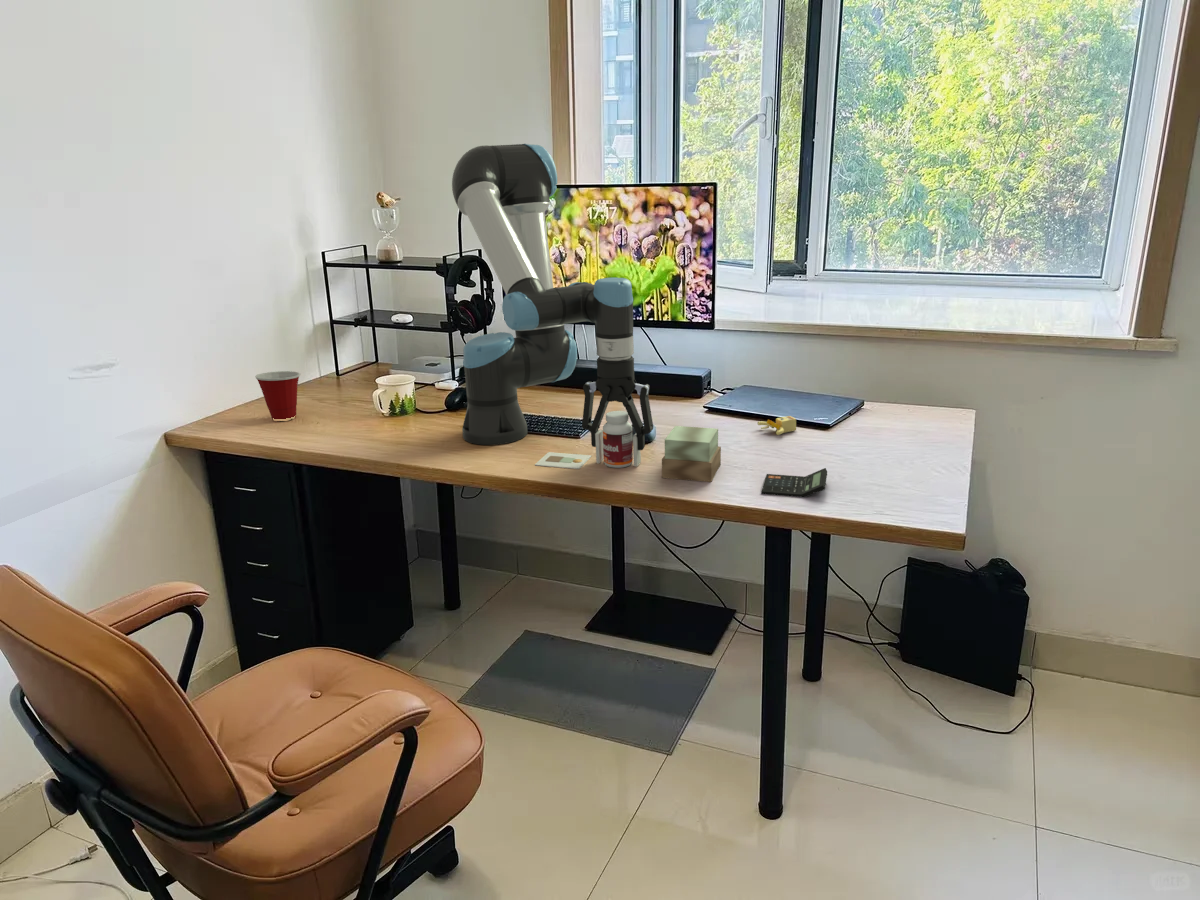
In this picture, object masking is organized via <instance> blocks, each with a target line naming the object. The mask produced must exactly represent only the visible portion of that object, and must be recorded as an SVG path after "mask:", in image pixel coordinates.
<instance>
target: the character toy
mask: <svg viewBox="0 0 1200 900" xmlns="http://www.w3.org/2000/svg"><path fill="white" fill-rule="evenodd" d="M757 425H758V426H761V427H760V430H766V429H770V428H771V429H776V432H775V434H776V435H777V436H779V435H781V434H782V435H783V434H784V433H788V432H789V433H790V432H794V431H797V418H795V417H793V416H791V415H788V416H787V415H786V416H782V417H777V418H775V422H774V421H772V420H770V419H767V421H762V420H761V421H757Z"/></svg>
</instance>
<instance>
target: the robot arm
mask: <svg viewBox="0 0 1200 900" xmlns="http://www.w3.org/2000/svg"><path fill="white" fill-rule="evenodd" d="M452 173H453V174H452V178H451V189H452V191H451V192H452V196H453V198H454V201H455V203H456V206H457V208H458V210H459V212H460V213H462V214H463V215H465V216H467V218H468V219H469V222H470V224H471V226H472V228H473V230H474V232H475V234H476V236H477V238H478V240H479V242H480V244H481V245H482V248H483V250H484V252H485V255H486V256H487V259H488V260H489V262H490V264H491V266H492V268H493V270H494V272H495V274H496V276H497V278H498V280H499V282H500V285H501V286H502V287H501V288H502V289H503V291H504V293H505V295H504V297H503V299H502V304H501V309H502V311H501V312H502V314H503V319H504V323H505V324H506V326H507V327H508V328H509V329H511V330H512V331H515V337H514V336H513V335H512V334H511V333H510V332H505V331H503V332H501V331H500V332H495V333H494V332H492V333H487V334H482V335H479V336H476V337H474V338H471V339H470V340H468V341H467V342H465V344H464V345H463V348H462V349H463V350H462V351H463V361H462V365H463V370H464V378H465V379H464V380H465V389H466V390H465V391H466V401H467V407H466V412H465V416H464V419H463V425H462V438H463V440H465V442H468V443H470V444H474V445H482V446H489V445H490V446H493V445H495V446H496V445H504V444H509V443H514V442H517V441H519V440H521V439H523V438H525V437H526V436H527V435H528V424H527V420H526V419H525V415H524V414H523V411H522V409H521V406H520V403H519V400H518V399H519V397H518V389H519V388H526V387H530V386H531V387H532V386H536V385H541V384H547V383H551V384H552V383H555V382H557V381H563V380H566V379H567V378H569V377H570V376H572V373H573V372H574V370H575V369H576V365H577V359H578V347H577V343H576V340H575V338H574V335H573V333H572V332H570V331H569V330H567V329H565V325H567V324H575V323H582V322H590V323H593V324H595V341H596V342H595V343H596V344H595V346H596V356H598V357H597V359H596V367H597V368H596V369H597V370H596V374H597V378H596V381H593V382H592V381H587V382H585V384H583V386H582V390H583V394H584V402H583V411H582V421H581V428H582V429H583V430H587V431H589V432H590V440H591V441H590V442H591V447H593V448H595V457H596V459H595V460H596V464H600V463H602V461H604V456H603V429H600V428H601V424H602V421H603V419H604V417H605V414H606V411H607V408H608V405H609V403H610V402H611V403H612V402H617V403H622V405H623V407H624V408H625V410H626V412H627V413H628V416H629V420H630V423H631V425H632V428H633V429H634V432H635V434H633V435H632V444H633V467H638V466H639V465H640V463H641V461H642V456H641V451H643V450H644V449H645V446H646V442H645V441H646V440H645V435H648V434H651V432H652V431H653V430H654V422H653V418H652V417H653V416H652V411H651V404H650V397H649V393H650V384H648V383H645V384H640V383H637V381H636V379H635V358H634V357H633V356H632V355H634V353H635V352H634V351H635V350H634V297H633V289H632V287H633V286H632V281H631V280H630V279H628V278H625V277H605V278H599V279H597V280H596V281H594V284H592V283H590V282H587V281H583V282H582V281H581V282H580V281H576V282H572V283H570V284H569V285H567V286H560V287H554V282H553V274H552V265H551V258H550V250H549V241H548V232H547V223H546V217H545V216H546V215H545V212H546V210H547V209H548V207H549V206H550V205H551V201H550V198H551V197H552V196H553V195H554V194H555V193H556V192H557V189H558V188H557V185H558V172H557V167H556V164H555V160H554V158H553V156H552V155H551V154H550V153H549V151H548V150H547V149H546V148H545V147H544V146H541V145H539V144H529V143H521V144H520V143H517V144H503V145H502V144H500V145H478V146H475V147H473V148H471V149H469V150H468V151H466V152H465V153H464V154H463V155H461V157H460V158H459V160H458V161H457V163H456V165H455V167H454V170H453V172H452ZM596 390H598V391H599V393H600V394H601V398H600V400H599V405H598V407H597V410H596V413H595V415H594V419H593V421H592V416H593V408H594V400H595V399H594V398H595V392H596ZM635 390H636V392H637V395H638V396H639V404H640V409H641V410H640V411H641V416H642V419H641V416H640V414H639V411H638V410H637V406H636V405H635V402H634V398H633V396H632V393H633V392H634V391H635Z"/></svg>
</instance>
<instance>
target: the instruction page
mask: <svg viewBox="0 0 1200 900" xmlns="http://www.w3.org/2000/svg"><path fill="white" fill-rule="evenodd" d="M591 458H592V455H589V454H580V453H579V454H577V453H564V452H553V451H548V452H547V453H545V454H544V456H542V457H541V458H540V459H539V460H538V461H537V462H536V463H534V466H538V467H550V468H560V469H561V468H564V469H574V470H580V469H581V468H582V467H583V466H584V465H586V463H587V462H588V460H590V459H591Z"/></svg>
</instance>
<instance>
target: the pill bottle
mask: <svg viewBox="0 0 1200 900" xmlns="http://www.w3.org/2000/svg"><path fill="white" fill-rule="evenodd" d="M629 420H630V417H629V415H628V413H627V411H624V410H613V411H612V410H611V411H608V412H607V413H606V412H605V421H606V422H605V423H604V424H603V426H602V430H603V456H604V459H603V464H604V465H605V466H606V467H609V468H614V469H624V468H628V467H629V466H631V465H632V463H634V456H633V425H632V423H631V422H629Z"/></svg>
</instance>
